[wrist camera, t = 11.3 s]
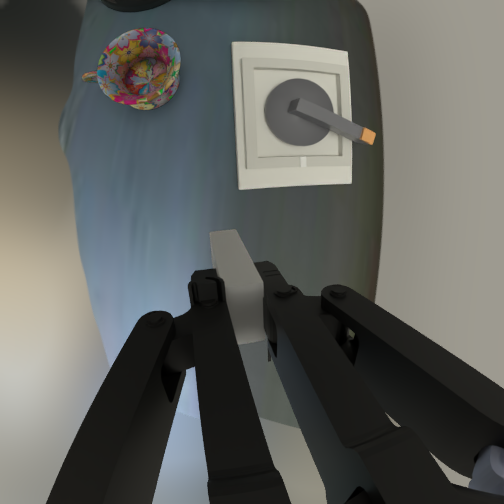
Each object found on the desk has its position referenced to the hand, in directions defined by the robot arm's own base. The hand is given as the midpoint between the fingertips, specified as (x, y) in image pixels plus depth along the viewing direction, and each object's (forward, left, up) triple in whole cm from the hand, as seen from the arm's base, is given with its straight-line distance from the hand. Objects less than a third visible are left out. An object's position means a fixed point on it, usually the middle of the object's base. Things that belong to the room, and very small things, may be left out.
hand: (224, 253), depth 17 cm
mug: (-16, -8, -27) cm, 32 cm away
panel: (-10, +14, -26) cm, 32 cm away
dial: (-9, +16, -25) cm, 31 cm away
